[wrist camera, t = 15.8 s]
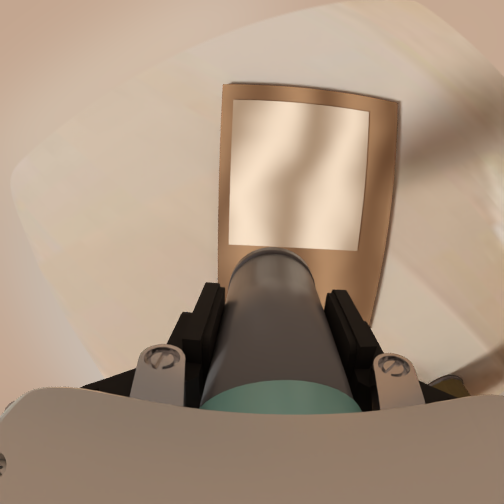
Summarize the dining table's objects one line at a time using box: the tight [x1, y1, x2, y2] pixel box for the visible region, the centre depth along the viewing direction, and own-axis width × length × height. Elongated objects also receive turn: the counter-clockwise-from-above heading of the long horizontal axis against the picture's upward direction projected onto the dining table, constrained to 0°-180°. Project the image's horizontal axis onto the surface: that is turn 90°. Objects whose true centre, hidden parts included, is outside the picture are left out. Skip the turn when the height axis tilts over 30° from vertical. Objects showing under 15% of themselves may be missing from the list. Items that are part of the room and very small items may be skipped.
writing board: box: [218, 84, 398, 325], centre depth 27 cm, size 16×24×1 cm, turn 178°
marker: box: [199, 247, 362, 415], centre depth 9 cm, size 4×4×12 cm
